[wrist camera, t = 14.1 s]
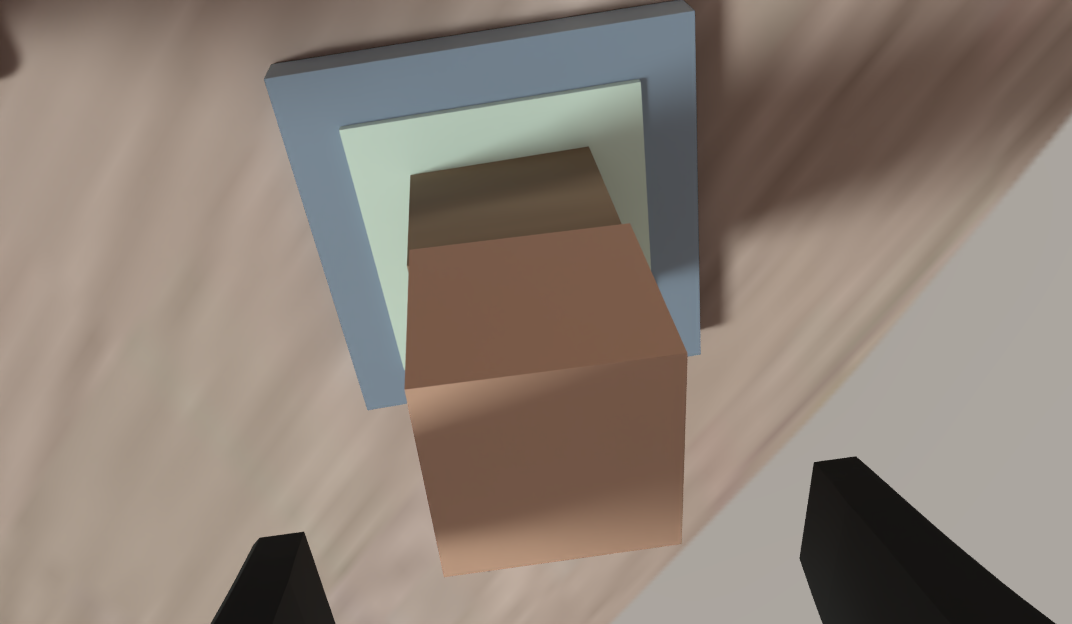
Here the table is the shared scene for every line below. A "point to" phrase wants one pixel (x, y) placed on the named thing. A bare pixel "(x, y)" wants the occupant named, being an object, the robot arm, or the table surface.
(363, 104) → the baseplate
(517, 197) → the brass cube
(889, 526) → the robot arm
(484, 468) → the terracotta cube
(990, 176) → the table surface
